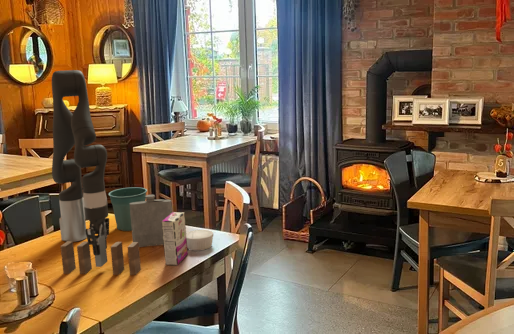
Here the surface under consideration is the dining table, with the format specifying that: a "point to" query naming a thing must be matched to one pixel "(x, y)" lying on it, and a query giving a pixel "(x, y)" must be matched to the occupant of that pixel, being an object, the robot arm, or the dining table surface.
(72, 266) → the domino
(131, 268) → the domino
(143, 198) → the flower pot
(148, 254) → the dining table surface
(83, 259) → the domino
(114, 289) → the dining table surface
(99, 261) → the domino
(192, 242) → the ramekin
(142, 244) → the hip flask
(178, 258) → the candy bar box
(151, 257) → the dining table surface
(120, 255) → the domino
